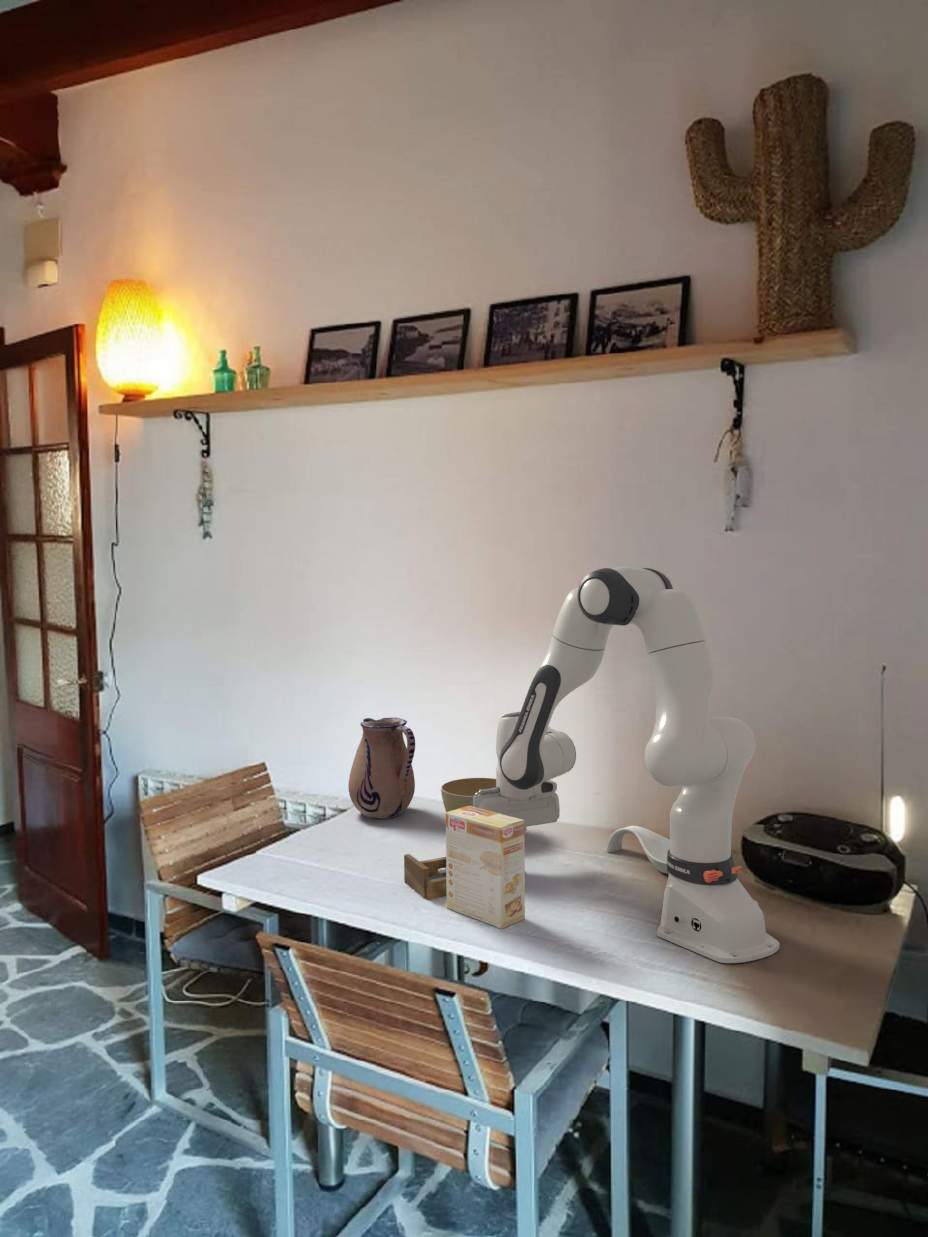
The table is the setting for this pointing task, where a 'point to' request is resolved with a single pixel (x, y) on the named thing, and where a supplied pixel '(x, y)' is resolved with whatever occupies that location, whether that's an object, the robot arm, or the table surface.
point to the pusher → (442, 870)
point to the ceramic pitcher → (383, 769)
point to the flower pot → (463, 791)
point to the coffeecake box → (485, 865)
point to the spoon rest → (644, 845)
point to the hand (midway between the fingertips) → (516, 846)
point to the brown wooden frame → (425, 876)
